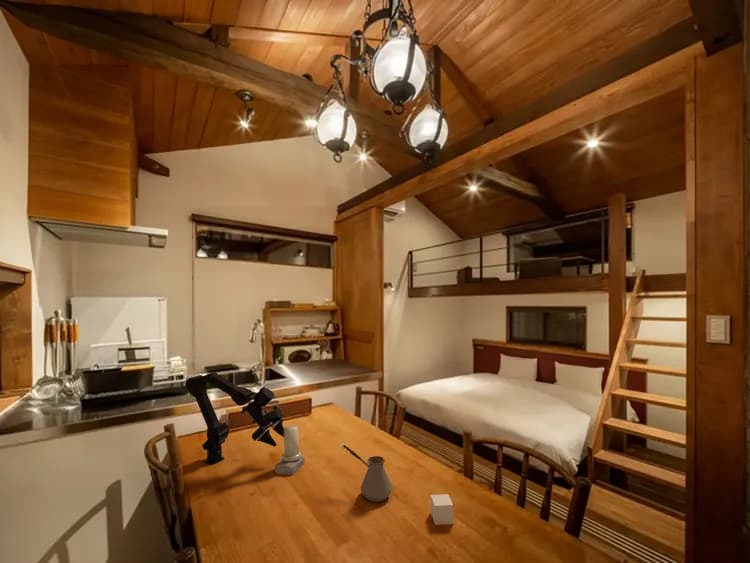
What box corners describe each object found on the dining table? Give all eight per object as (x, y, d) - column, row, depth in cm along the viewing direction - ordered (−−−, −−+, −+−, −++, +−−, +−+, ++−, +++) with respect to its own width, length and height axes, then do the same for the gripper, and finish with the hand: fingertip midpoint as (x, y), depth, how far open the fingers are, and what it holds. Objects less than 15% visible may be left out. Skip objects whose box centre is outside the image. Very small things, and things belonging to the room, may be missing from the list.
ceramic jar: (279, 461, 143) (278, 431, 144) (286, 454, 151) (285, 425, 152) (297, 461, 142) (296, 430, 144) (303, 453, 150) (302, 424, 151)
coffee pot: (397, 492, 126) (397, 451, 127) (381, 509, 117) (381, 464, 117) (351, 477, 138) (351, 439, 138) (333, 490, 128) (333, 449, 129)
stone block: (272, 478, 141) (294, 476, 139) (271, 466, 141) (293, 464, 139) (286, 466, 152) (306, 463, 150) (284, 454, 153) (304, 452, 151)
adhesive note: (430, 513, 114) (430, 494, 115) (448, 512, 115) (448, 494, 115) (435, 525, 108) (434, 505, 109) (453, 524, 109) (453, 504, 109)
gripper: (258, 408, 140) (283, 437, 137) (280, 395, 158) (302, 421, 155) (241, 426, 141) (265, 455, 138) (264, 411, 159) (286, 437, 156)
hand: (281, 441), depth 147 cm, fingers open, 9 cm apart
